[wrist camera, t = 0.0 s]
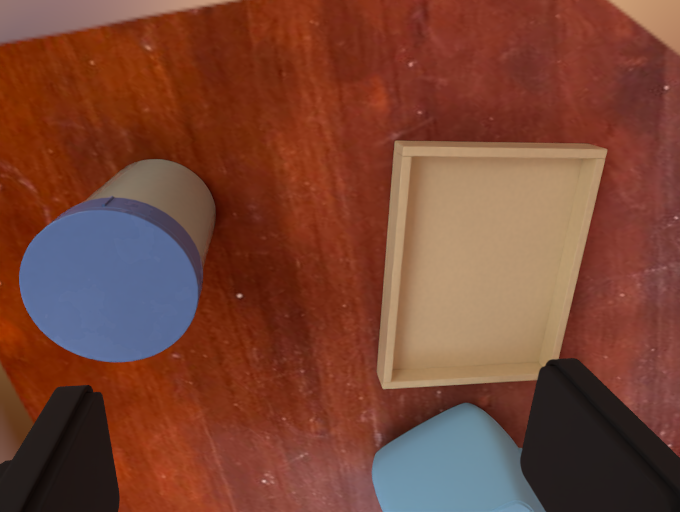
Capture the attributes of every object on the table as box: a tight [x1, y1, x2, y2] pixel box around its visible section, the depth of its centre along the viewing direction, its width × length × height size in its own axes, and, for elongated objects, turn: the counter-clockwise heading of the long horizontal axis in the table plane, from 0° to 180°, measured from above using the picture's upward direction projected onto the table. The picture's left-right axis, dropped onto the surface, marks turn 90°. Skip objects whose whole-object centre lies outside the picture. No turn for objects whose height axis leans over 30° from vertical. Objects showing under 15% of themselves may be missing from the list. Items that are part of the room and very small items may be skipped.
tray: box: [377, 141, 607, 389], centre depth 34 cm, size 17×13×2 cm
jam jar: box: [84, 159, 216, 268], centre depth 26 cm, size 7×7×11 cm
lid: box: [19, 196, 203, 362], centre depth 22 cm, size 7×7×2 cm
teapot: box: [372, 403, 546, 512], centre depth 37 cm, size 12×18×12 cm
